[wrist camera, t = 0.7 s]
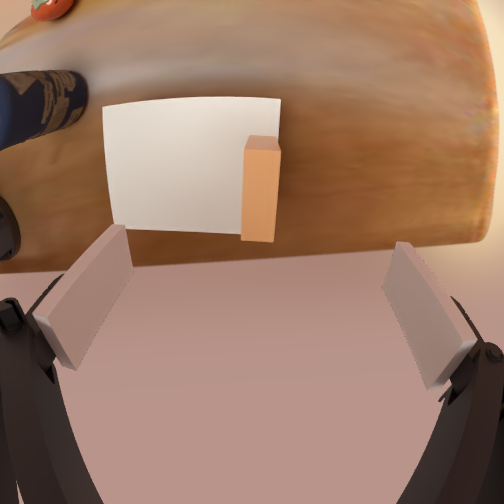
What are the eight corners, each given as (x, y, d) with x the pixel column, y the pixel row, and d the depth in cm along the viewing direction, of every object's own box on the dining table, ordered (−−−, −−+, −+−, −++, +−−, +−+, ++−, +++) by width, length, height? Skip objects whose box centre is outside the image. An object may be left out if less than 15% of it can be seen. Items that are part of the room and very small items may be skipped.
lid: (124, 219, 33) (79, 267, 24) (114, 105, 26) (53, 115, 16) (270, 225, 33) (272, 282, 24) (279, 99, 26) (288, 97, 16)
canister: (100, 92, 30) (9, 104, 15) (67, 140, 34) (-17, 176, 18) (68, 59, 27) (-20, 61, 11) (38, 106, 30) (-45, 129, 15)
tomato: (78, 16, 23) (47, 8, 16) (45, 29, 23) (13, 26, 16) (87, -20, 19) (58, -32, 12) (53, -6, 19) (23, -14, 12)
